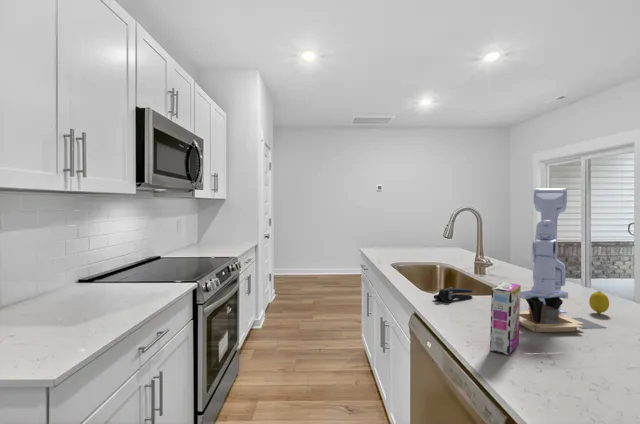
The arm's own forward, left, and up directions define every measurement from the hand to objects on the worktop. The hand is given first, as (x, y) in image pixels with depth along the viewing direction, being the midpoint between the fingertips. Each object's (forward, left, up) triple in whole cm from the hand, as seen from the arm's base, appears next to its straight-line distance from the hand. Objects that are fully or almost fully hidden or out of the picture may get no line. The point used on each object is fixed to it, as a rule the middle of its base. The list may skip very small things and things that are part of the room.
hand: (543, 321), depth 115 cm
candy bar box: (+16, -22, -2) cm, 27 cm away
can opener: (-33, -13, -2) cm, 35 cm away
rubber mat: (-1, +14, -2) cm, 14 cm away
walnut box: (0, 0, -1) cm, 1 cm away
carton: (0, 0, -2) cm, 2 cm away
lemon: (-11, +29, -2) cm, 31 cm away
